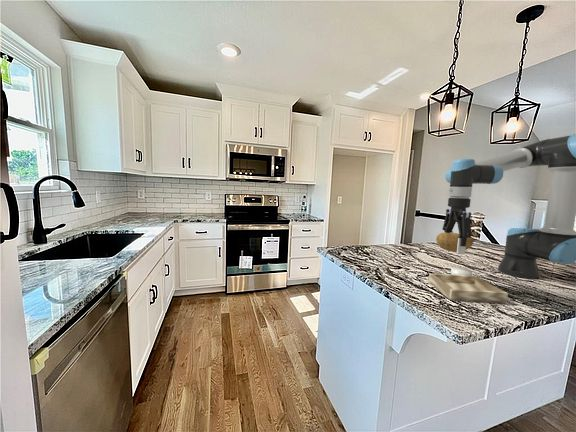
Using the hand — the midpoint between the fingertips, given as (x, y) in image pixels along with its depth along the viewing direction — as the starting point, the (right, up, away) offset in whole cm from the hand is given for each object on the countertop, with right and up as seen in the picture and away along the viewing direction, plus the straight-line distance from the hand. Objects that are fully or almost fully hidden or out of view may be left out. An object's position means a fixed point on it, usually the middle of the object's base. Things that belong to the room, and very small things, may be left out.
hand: (453, 250), depth 103 cm
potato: (0, -1, 0) cm, 1 cm away
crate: (+1, -16, -4) cm, 17 cm away
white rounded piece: (+11, -15, +11) cm, 21 cm away
